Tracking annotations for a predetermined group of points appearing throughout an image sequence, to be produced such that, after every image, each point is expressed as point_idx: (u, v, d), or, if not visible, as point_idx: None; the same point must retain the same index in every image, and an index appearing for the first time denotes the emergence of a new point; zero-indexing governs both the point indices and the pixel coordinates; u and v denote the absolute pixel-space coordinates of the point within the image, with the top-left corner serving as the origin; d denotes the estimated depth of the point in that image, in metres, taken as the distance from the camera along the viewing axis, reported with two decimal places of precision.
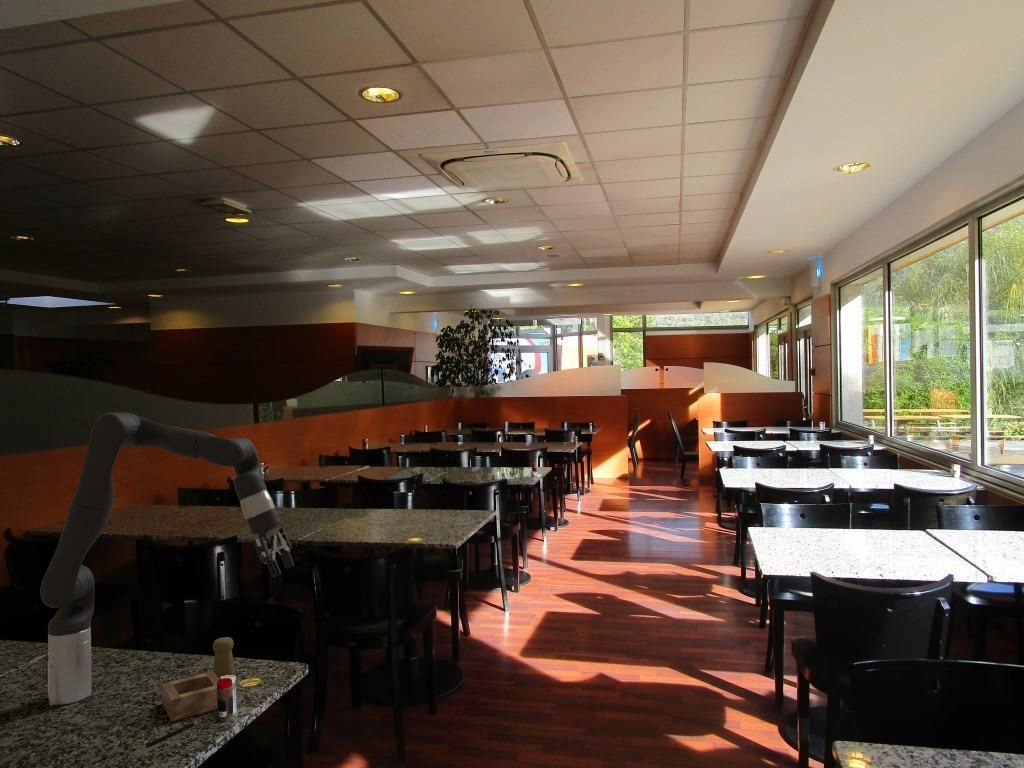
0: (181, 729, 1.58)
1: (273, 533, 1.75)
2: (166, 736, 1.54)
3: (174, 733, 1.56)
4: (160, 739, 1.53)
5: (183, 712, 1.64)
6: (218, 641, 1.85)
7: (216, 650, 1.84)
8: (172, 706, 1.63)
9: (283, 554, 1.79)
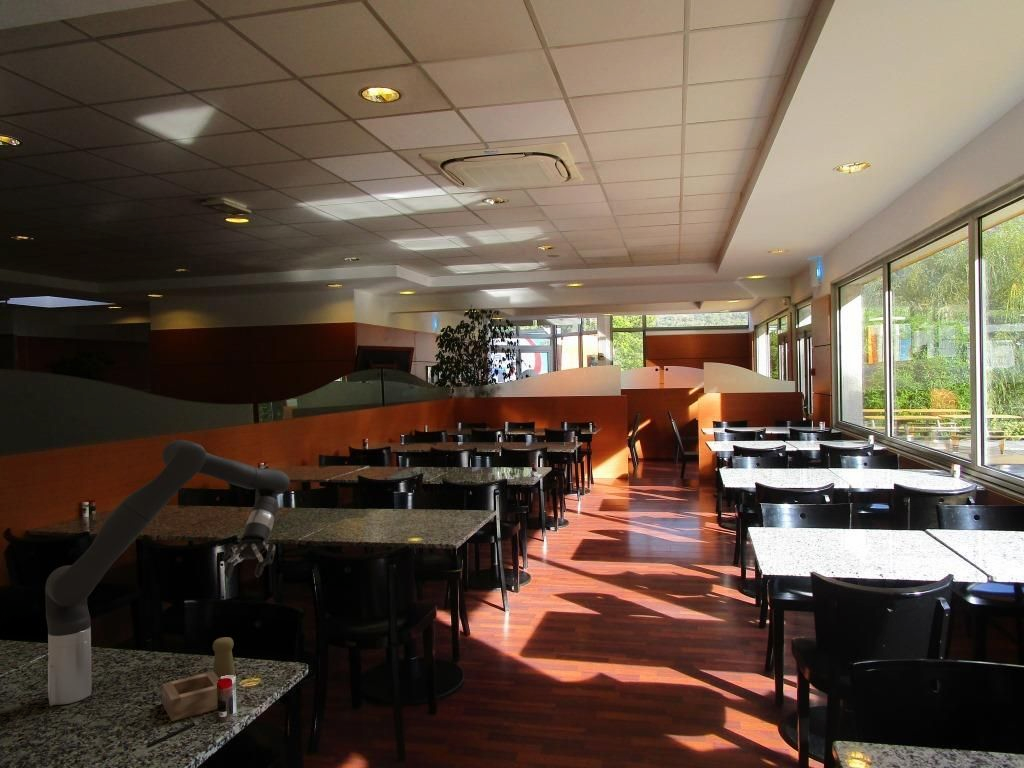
0: (182, 729, 1.57)
1: None
2: (167, 736, 1.54)
3: (175, 733, 1.56)
4: (161, 739, 1.53)
5: (183, 712, 1.64)
6: (218, 641, 1.85)
7: (216, 650, 1.84)
8: (172, 706, 1.63)
9: (232, 564, 2.01)
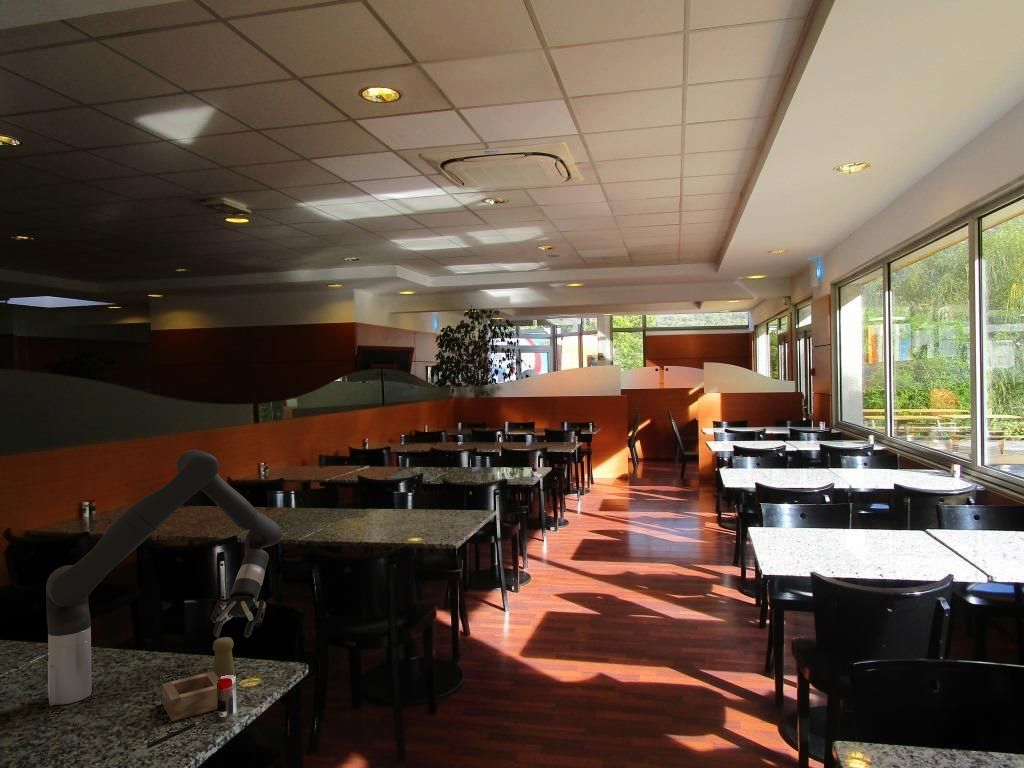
0: (182, 730, 1.57)
1: None
2: (167, 736, 1.54)
3: (175, 734, 1.56)
4: (161, 739, 1.53)
5: (183, 712, 1.64)
6: (218, 641, 1.85)
7: (216, 650, 1.84)
8: (172, 706, 1.63)
9: (220, 622, 1.94)
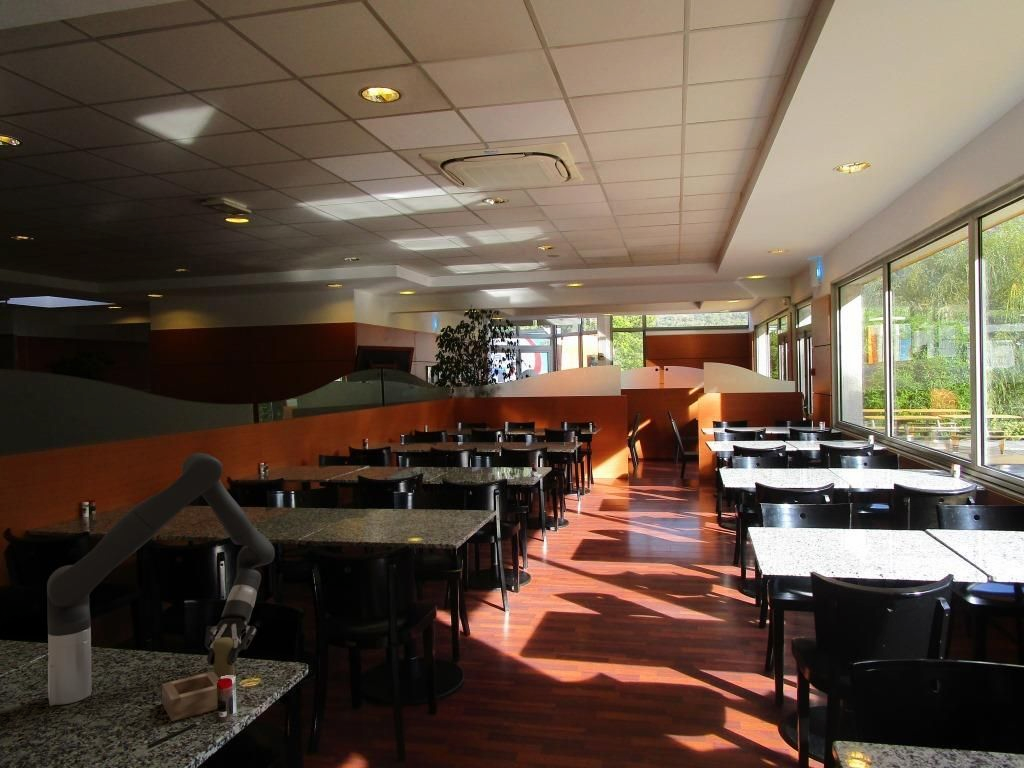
0: (183, 730, 1.57)
1: None
2: (168, 737, 1.54)
3: (176, 734, 1.56)
4: (162, 740, 1.53)
5: (183, 712, 1.64)
6: (218, 641, 1.85)
7: (216, 650, 1.84)
8: (172, 706, 1.63)
9: None
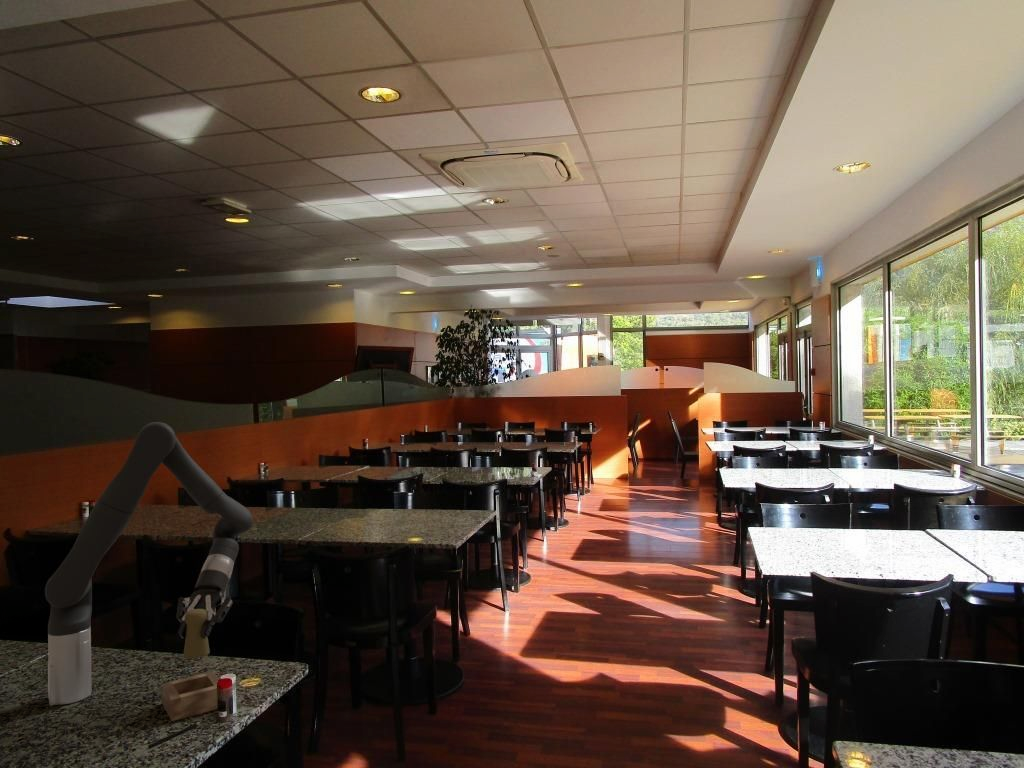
0: (184, 730, 1.57)
1: None
2: (168, 737, 1.54)
3: (176, 734, 1.55)
4: (162, 740, 1.53)
5: (183, 712, 1.64)
6: (190, 613, 1.72)
7: (188, 622, 1.71)
8: (172, 706, 1.63)
9: None
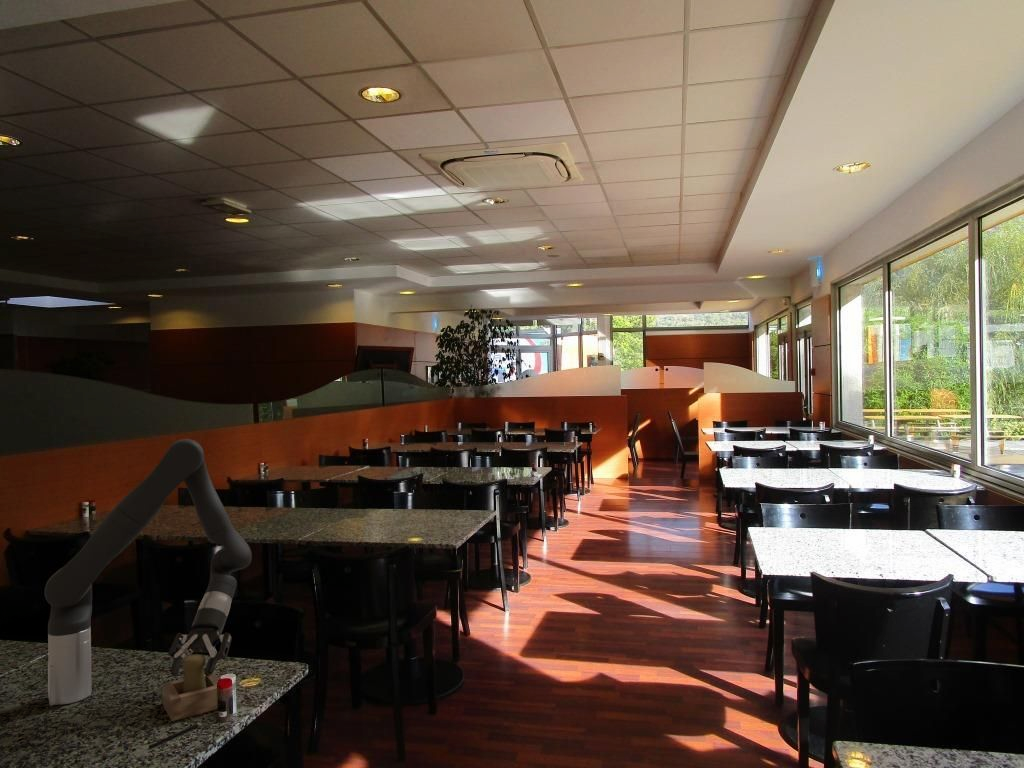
0: (185, 730, 1.57)
1: None
2: (169, 737, 1.54)
3: (177, 734, 1.55)
4: (163, 740, 1.52)
5: (183, 712, 1.64)
6: (188, 659, 1.70)
7: (185, 668, 1.69)
8: (172, 706, 1.63)
9: (179, 659, 1.73)
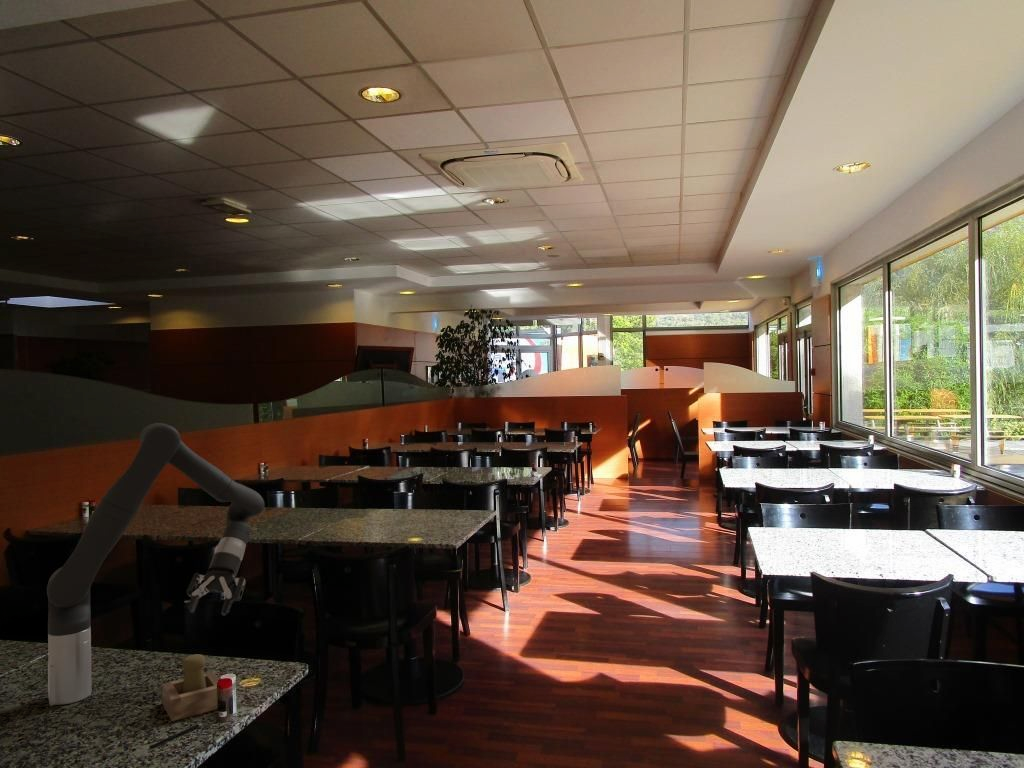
0: (185, 731, 1.57)
1: None
2: (170, 738, 1.54)
3: (178, 735, 1.55)
4: (164, 741, 1.52)
5: (183, 712, 1.64)
6: (188, 659, 1.70)
7: (185, 669, 1.69)
8: (172, 706, 1.63)
9: (196, 597, 1.85)
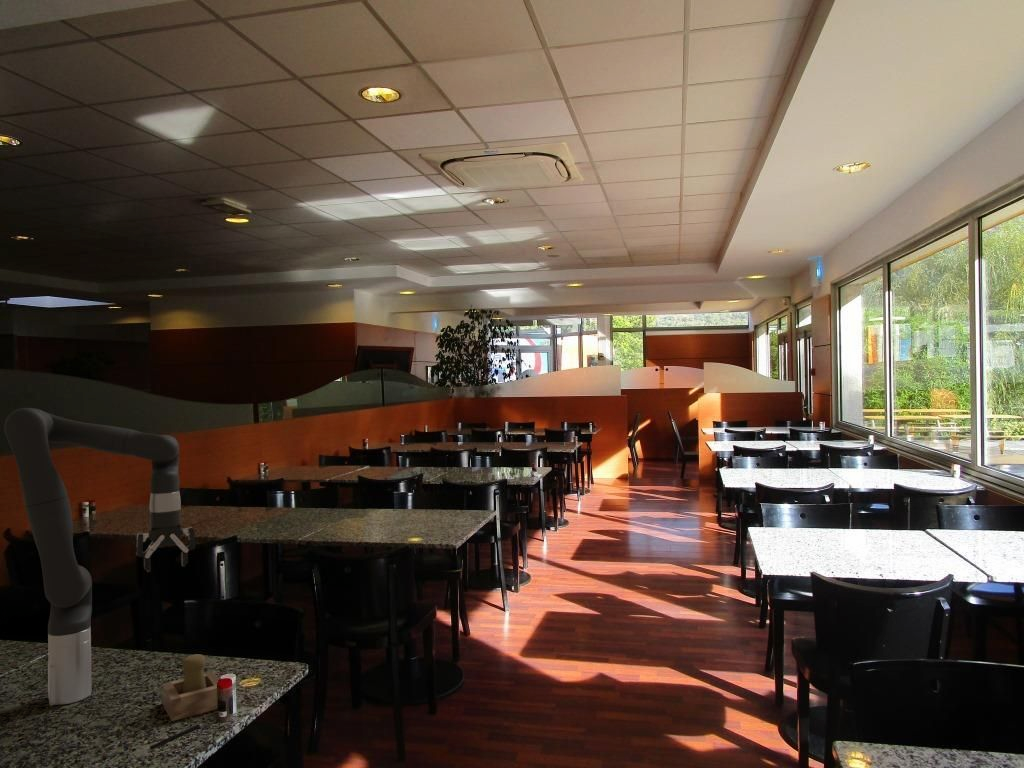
0: (186, 731, 1.56)
1: None
2: (170, 738, 1.53)
3: (179, 735, 1.55)
4: (164, 741, 1.52)
5: (183, 712, 1.64)
6: (188, 659, 1.70)
7: (186, 669, 1.69)
8: (172, 706, 1.63)
9: (149, 557, 1.85)
